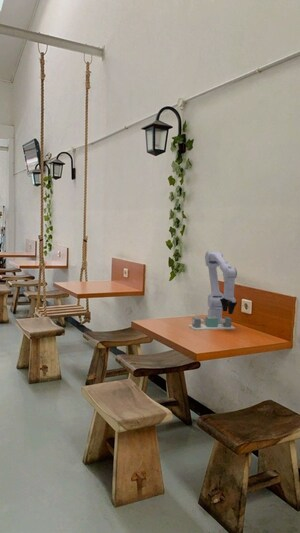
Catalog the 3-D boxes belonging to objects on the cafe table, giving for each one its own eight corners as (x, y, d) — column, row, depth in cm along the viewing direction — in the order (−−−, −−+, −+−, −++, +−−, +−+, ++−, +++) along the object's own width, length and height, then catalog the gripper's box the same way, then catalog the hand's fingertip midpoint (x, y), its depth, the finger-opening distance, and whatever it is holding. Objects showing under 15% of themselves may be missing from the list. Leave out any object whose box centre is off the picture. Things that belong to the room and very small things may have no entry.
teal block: (214, 325, 242) (215, 316, 242) (217, 327, 239) (218, 317, 238) (205, 325, 241) (205, 316, 240) (207, 327, 237) (208, 317, 237)
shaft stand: (188, 326, 241) (189, 316, 241) (228, 325, 247) (228, 316, 247) (194, 330, 232) (194, 320, 232) (234, 329, 239) (235, 319, 238)
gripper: (217, 287, 243) (216, 310, 244) (228, 291, 229) (226, 315, 230) (228, 287, 245) (227, 309, 246) (239, 291, 231) (238, 315, 232)
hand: (227, 312), depth 238 cm, fingers open, 7 cm apart
